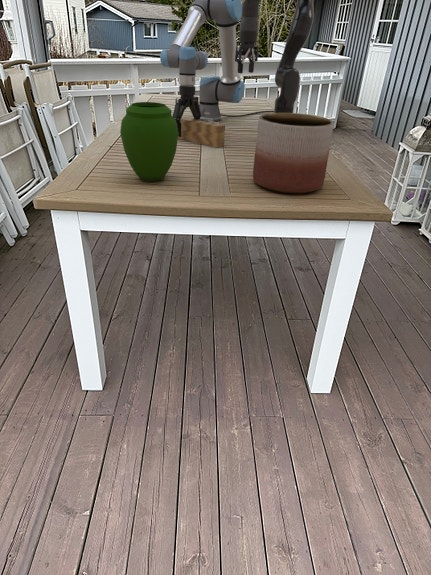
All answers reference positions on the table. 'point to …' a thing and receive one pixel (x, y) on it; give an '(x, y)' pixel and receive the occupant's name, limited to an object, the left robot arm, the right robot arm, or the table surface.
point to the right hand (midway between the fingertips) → (245, 72)
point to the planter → (292, 152)
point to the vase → (149, 139)
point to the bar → (202, 132)
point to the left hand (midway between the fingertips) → (186, 134)
